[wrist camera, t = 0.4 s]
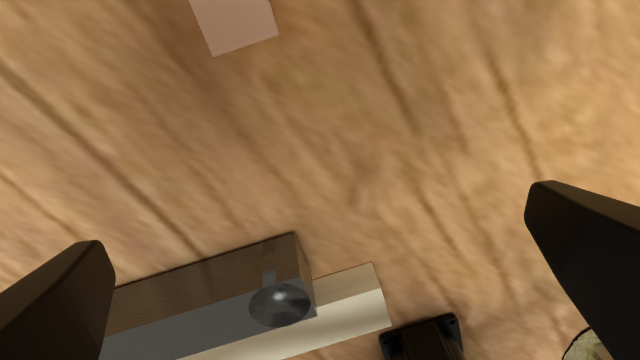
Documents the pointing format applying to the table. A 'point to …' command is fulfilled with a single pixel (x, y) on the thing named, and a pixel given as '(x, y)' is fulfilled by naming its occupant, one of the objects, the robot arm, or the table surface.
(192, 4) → the block
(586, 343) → the ceramic model
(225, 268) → the stool leg
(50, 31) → the table surface
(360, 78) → the table surface
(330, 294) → the rail
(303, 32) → the table surface
